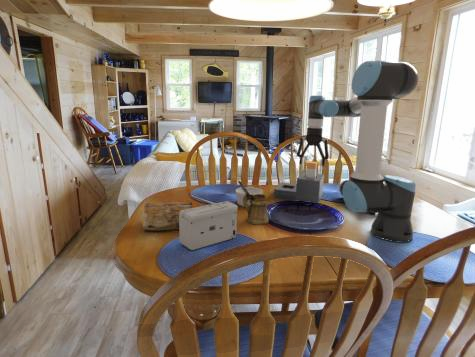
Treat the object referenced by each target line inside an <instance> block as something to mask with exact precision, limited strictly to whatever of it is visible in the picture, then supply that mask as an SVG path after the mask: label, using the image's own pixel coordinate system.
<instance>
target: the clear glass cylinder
mask: <svg viewBox="0 0 475 357" xmlns="http://www.w3.org/2000/svg"><path fill="white" fill-rule="evenodd" d="M317 168H318V162H317V161H309V160H308V161H307V162H306V171H305V173H306V177H308V178H316V174H317Z"/></svg>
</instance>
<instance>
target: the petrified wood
mask: <svg viewBox="0 0 475 357" xmlns="http://www.w3.org/2000/svg"><path fill="white" fill-rule="evenodd" d="M143 208H144V211H143V212H144V216H143V222H142V223H143V224H142V229H143V230H145V231H154V232H155V231H156V232H157V231H160V232H161V231H172V230H179V212H180V211H181V210H186V209H191V208H194V205H193V202H192V201H191V202H190V201H189V202H187V201H186V202H182V201H181V202H180V201H168V202H167V201H166V202H165V201H164V202H163V201H162V202H147V203H144V207H143Z"/></svg>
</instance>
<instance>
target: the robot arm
mask: <svg viewBox="0 0 475 357" xmlns="http://www.w3.org/2000/svg"><path fill="white" fill-rule="evenodd" d="M418 83H419V74H418V71H417V70H416V68H415V67H414V65H412V64H410V63H409V62H404V61H387V60H366V61H364V62H362V63H361V64H360V65H359V66H357V69H356V70H355V72H354V74H353V76H352V80H351V90H352V93H353V94H354V95H355V97H353V98H352V99H349V100H335V99H333V100H332V99H326V97H325V95H310V97H309V99H308V100H309V101H308V111H307V112H308V114H307V115H308V116H307V125H306V126H307V127H306V128H307V129H306V136H305V137H303V136H302V137H300V138H299V146H298V149H297V152H296V157H298V158H299V165H301V166H300V168H301V169H300V170H301V172H304V169H305V168H304V167H305V157H304V156H305V155H306V152H307V151H308V149H309V147H310V146H311V147H312V146H314V147H317V149H318V153H319V155H320V157H321V159H320V162H319V174H322V172H323V171H322V170H323V167H325V164H326V163H325V162H326V160H328V159H329V158H330V155H329V148H328V147H329V146H328V142H329V139H328V138H323V126H324V118H333V117H334V118H335V117H336V118H338V117H339V118H340V117H341V118H342V117H343V118H344V117H345V118H346V117H347V118H356V117H357V118H359V125H358V127H359V128H358V138H357V148H356V156H355V157H356V159H355V170H354V171H353V172H352V173H351V174H350V177H349V180H350V181H348V182H346V183H345V184H344V186H343V196H342V198H343V201H344V203H345V205H346V207H347V208H348V209H349V210H350V211H352V212H353V213H354V212H355V213H369V212H372V211H378V213H376V214H377V215H376V216H375V218H374V219H373V222H372V224H371V227H370V231H371V234H372V235H374V236H375V237H377V236H378V237H377V238H379V237H381V238H384V239H388V240H392V241H391V242H393V241H408V240H411V239H412V238H414V228H413V224H412V212H413V205H414V201H415V194H416V183H415V181H413V180H411V179H409V178H408V179H407V178H405V177H400V176H397V175H396V176H395V175H390V174H389V175H388V174H385V175H382V174H381V166H382V156H383V148H384V137H385V129H386V122H387V121H386V120H387V112H388V111H387V110H388V106H389V105H390V104H391V103H393V100H396V101H397V100H399V99H402V98H404V97H407V96H409V95H410V94H411V93H413V92H414V91H415V89H416V88H417V86H418ZM305 141H306V143H307V144H306V146H305V147H304V149H303V150H302V148H303V145H304V142H305ZM321 142H322V143H323V145H324V151H323V149H322V146H321ZM381 238H380V239H381ZM384 239H383V240H384ZM388 240H387V241H388ZM412 240H413V239H412ZM412 240H411V241H412ZM408 242H409V241H408Z"/></svg>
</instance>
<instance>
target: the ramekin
mask: <svg viewBox="0 0 475 357" xmlns="http://www.w3.org/2000/svg"><path fill="white" fill-rule="evenodd" d="M245 188H246V189H247V191H248V192H249V194H253V195H256V194H262V195H264V194H263V193H264V192H263V190H262V189H260V188H257V187H251V186H247V187H246V186H245ZM245 194H246V193H245V192H244V190H243V189H242V187H239V188H238V187H237V188H235V195H236V197H235V198H236V203H237V205H239V206H240V207H244V205H243V198H244V196H245ZM247 204H248V205H249V206H250V204H251V203H250V200H248V201H247ZM244 208H245V207H244Z"/></svg>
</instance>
